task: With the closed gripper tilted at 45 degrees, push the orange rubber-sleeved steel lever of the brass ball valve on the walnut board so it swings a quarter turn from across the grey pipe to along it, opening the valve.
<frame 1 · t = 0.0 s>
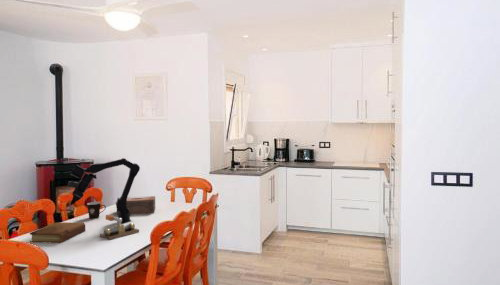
hand: (71, 203, 234), 15 cm above the table, tool tilted 35°, fingers open, 9 cm apart
valve lever: (113, 218, 220), point 8 cm above the table, hinge at 0.0°
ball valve: (119, 234, 216), on the table
tissue box cover: (136, 212, 276), on the table
coffee mug: (95, 218, 258), on the table
diary: (59, 237, 214), on the table
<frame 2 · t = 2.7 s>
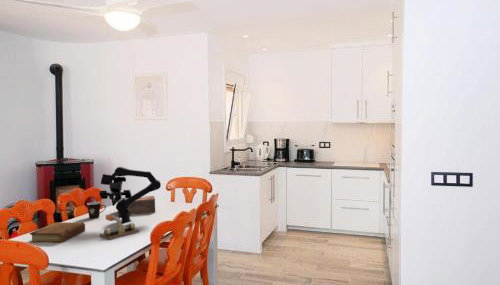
hand: (113, 205, 232), 14 cm above the table, tool tilted 45°, fingers closed
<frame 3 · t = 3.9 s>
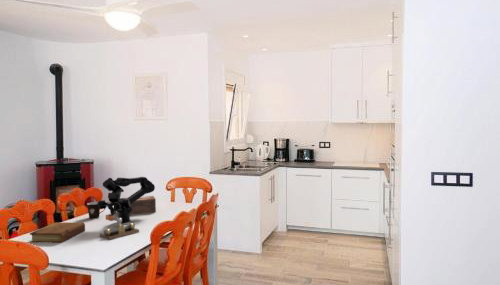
hand: (111, 215, 228), 8 cm above the table, tool tilted 45°, fingers closed
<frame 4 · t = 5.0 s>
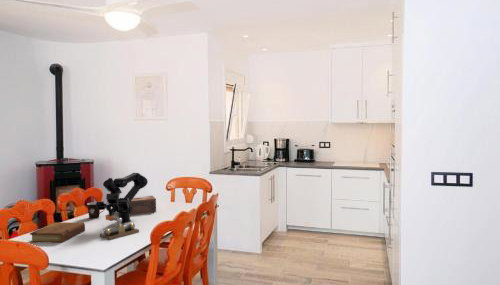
hand: (110, 217, 225), 8 cm above the table, tool tilted 45°, fingers closed
valve lever: (113, 218, 220), point 8 cm above the table, hinge at 0.5°, touching gripper
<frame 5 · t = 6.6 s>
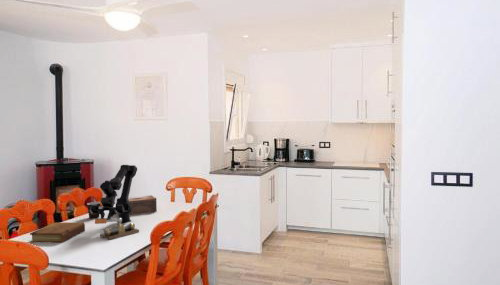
hand: (104, 221, 217), 7 cm above the table, tool tilted 45°, fingers closed
valve lever: (108, 220, 215), point 8 cm above the table, hinge at 44.4°, touching gripper
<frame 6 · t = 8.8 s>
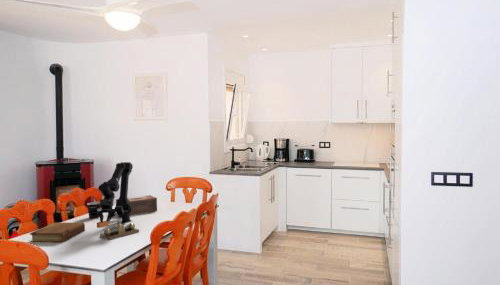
hand: (103, 224, 211), 7 cm above the table, tool tilted 45°, fingers closed
valve lever: (109, 222, 211), point 8 cm above the table, hinge at 92.1°
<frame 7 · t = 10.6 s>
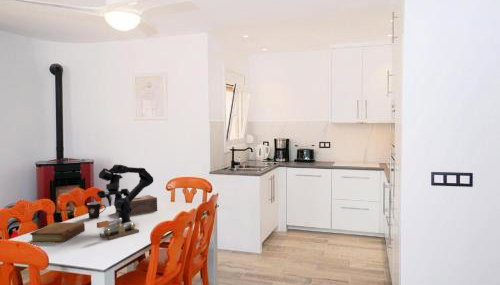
hand: (112, 206, 231), 13 cm above the table, tool tilted 35°, fingers closed
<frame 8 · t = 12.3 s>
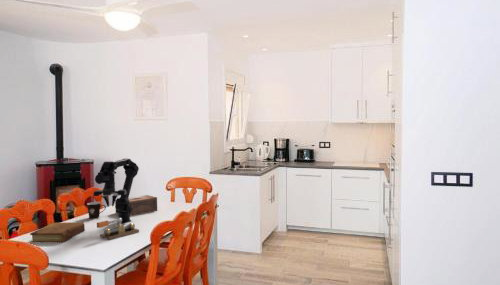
hand: (110, 206, 232), 13 cm above the table, tool pointing down, fingers closed
at the end: valve lever at +92° (first picture: +0°) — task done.
